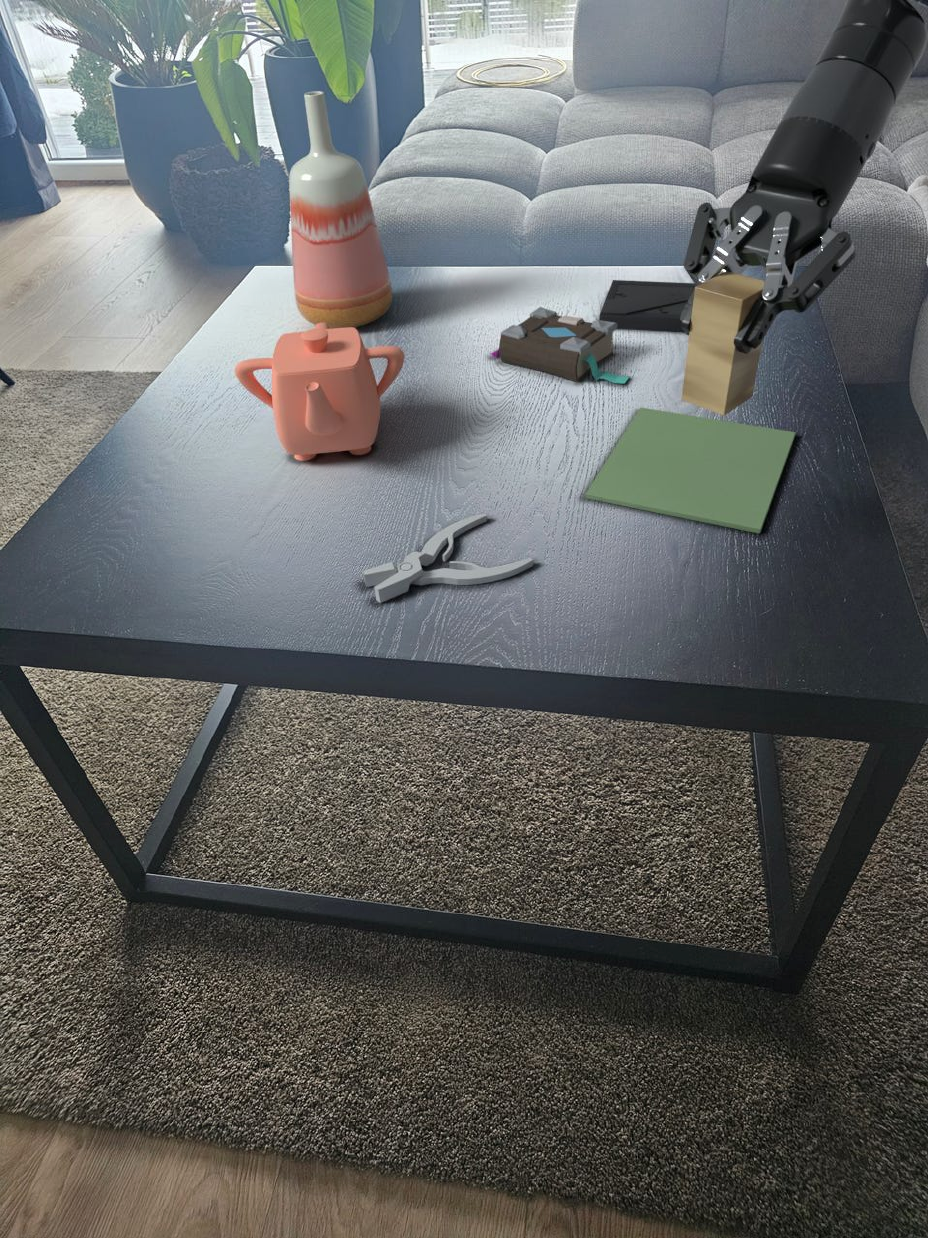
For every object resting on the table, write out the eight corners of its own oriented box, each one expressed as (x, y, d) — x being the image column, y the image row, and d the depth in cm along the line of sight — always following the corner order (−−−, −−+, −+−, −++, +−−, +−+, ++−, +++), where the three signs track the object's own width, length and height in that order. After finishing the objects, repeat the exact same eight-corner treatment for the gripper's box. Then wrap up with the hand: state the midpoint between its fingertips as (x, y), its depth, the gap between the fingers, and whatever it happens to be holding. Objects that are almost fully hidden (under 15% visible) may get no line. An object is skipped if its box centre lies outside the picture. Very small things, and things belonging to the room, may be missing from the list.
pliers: (534, 553, 81) (391, 609, 76) (534, 566, 82) (393, 623, 77) (482, 504, 88) (348, 553, 83) (483, 517, 89) (350, 566, 84)
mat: (794, 436, 97) (796, 432, 97) (760, 534, 84) (761, 529, 83) (640, 411, 103) (640, 407, 103) (585, 498, 90) (585, 493, 90)
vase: (317, 298, 137) (281, 83, 117) (404, 300, 134) (382, 80, 115) (286, 336, 126) (240, 106, 107) (380, 338, 124) (350, 104, 104)
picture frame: (599, 327, 122) (727, 334, 118) (599, 312, 121) (730, 318, 117) (611, 292, 132) (731, 297, 128) (612, 277, 130) (733, 282, 126)
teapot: (331, 396, 111) (313, 295, 102) (426, 427, 103) (415, 321, 95) (234, 454, 101) (205, 348, 93) (331, 493, 94) (309, 381, 85)
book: (658, 357, 114) (661, 320, 111) (613, 394, 107) (616, 356, 104) (532, 328, 124) (532, 293, 120) (483, 360, 116) (482, 324, 113)
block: (709, 382, 78) (726, 270, 71) (752, 396, 75) (773, 282, 68) (680, 400, 76) (694, 286, 69) (724, 416, 73) (742, 300, 66)
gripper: (730, 102, 69) (626, 297, 71) (903, 125, 61) (780, 344, 63) (755, 159, 75) (658, 337, 77) (915, 186, 67) (802, 384, 69)
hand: (714, 339), depth 70 cm, fingers closed on block, 4 cm apart
